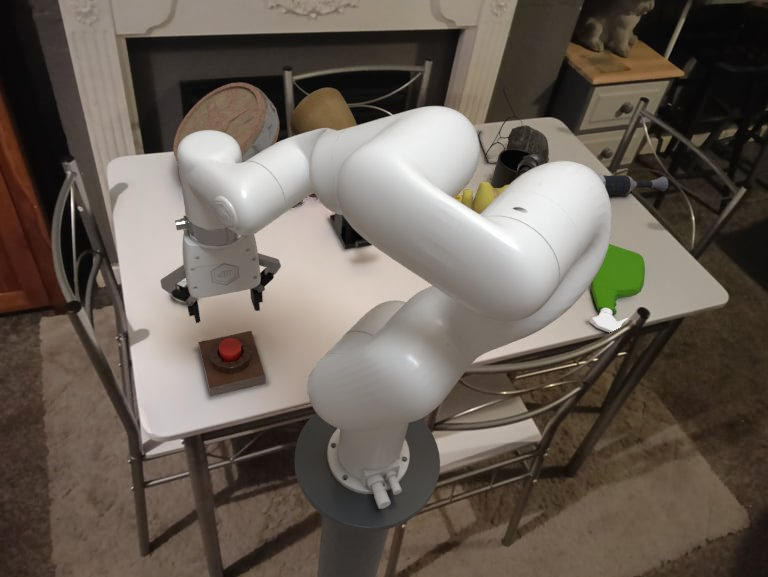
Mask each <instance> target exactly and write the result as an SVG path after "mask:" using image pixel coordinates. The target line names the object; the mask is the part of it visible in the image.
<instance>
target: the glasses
mask: <svg viewBox="0 0 768 577" xmlns="http://www.w3.org/2000/svg"><path fill="white" fill-rule="evenodd" d="M506 87H507V85H504V87H503V89H502V91H503V95H504V98H505V100H506V102H507V103H508V106H509V109H510V110H511V113H512V116H508V117H507V118H506V119H505V120H504V121H503V123H502V125H501V126H500V128H499V130H498V133H497V135H496V137H495V139H494V140H493V142H492V144H491V145H490V147H489V148H488V149H487V151H486V152H485V148H484V146H483V143H482V141H481V137H480V134H481V133H482V131H481V130H480V131H479V132H478V133H477V136H478V139H479V145H480V148H481V150H482V152H483V154H484V161H485V162H486V163H487V164H490V162H489V160H488V159H489V158H488V156H487V154H489V152H490V150H491V148H492V147H493V146H494V145H497V144H500V145H501V146H502V148H503V149H504V150H506V147H505V145H504V144H503V143H502V142H500V141H499V140H500V139H508V138H510V137H512V136H514V135H516V134H517V133H518V132H519V131H520V130H521V128H522V126H523V125H520V126H521V128H520V130H519V131H518V132H517V133H515V134H514V135H512V136H509V135H508V136H506V137H505V136H501V131H502V129H503V126H504V125H505V123H506V122H507V121H508V120H509V119H511V118H513V119H514V118H515V119H516V120H517V119H518V120H519V121H520V122H521V123H523V121H522V120H521V118H519V117H517V116H516V113H515V112H514V109H513V106H512V105H511V103H510V100H509V98H508V96H507V94H506V90H505V89H506ZM498 137H499V138H498ZM497 138H498V139H497ZM496 140H497V142H496ZM496 163H497V161H495V162H491V164H496Z"/></svg>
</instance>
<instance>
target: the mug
mask: <svg viewBox="0 0 768 577" xmlns="http://www.w3.org/2000/svg"><path fill="white" fill-rule="evenodd" d="M527 155H532V153H530V152H527V151H524V150H520V149H507V148H506V149H504V150H502V151H500V153H499V154H498V156H497V160H496V162H497V163H496V162H495V167H494V170H493V173H492V177H491V180H490V184H491V186H492V187H493V188H502V187H504V186H505V185H510V184H511V183H512V182H513V181H514V180H515V176H516V174H517V169H518V165H519V164H520V162H521V161H522V160H523V157H524V156H527Z"/></svg>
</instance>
